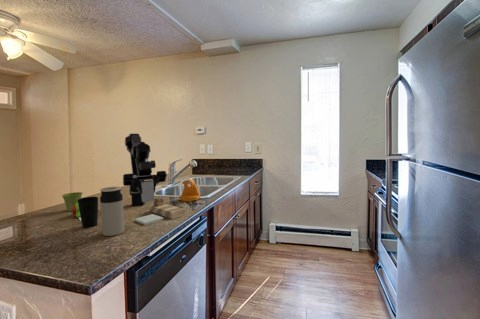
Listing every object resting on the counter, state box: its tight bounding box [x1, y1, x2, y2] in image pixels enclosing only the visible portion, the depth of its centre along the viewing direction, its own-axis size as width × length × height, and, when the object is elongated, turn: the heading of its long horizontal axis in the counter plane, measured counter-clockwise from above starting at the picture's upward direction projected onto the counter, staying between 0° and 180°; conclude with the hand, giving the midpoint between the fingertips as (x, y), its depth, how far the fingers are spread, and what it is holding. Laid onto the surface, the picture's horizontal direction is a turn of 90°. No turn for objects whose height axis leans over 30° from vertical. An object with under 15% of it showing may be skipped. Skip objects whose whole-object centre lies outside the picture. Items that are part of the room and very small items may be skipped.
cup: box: [78, 196, 99, 229], centre depth 111 cm, size 8×8×12 cm
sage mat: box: [134, 213, 164, 226], centre depth 117 cm, size 9×9×1 cm
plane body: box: [149, 197, 186, 220], centre depth 128 cm, size 20×7×6 cm, turn 49°
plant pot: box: [61, 191, 83, 212], centre depth 138 cm, size 9×9×9 cm
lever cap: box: [141, 179, 155, 203], centre depth 117 cm, size 4×5×9 cm
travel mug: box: [99, 186, 126, 237], centre depth 102 cm, size 8×8×18 cm
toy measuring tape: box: [71, 203, 82, 223], centre depth 124 cm, size 6×19×7 cm, turn 35°
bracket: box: [178, 178, 201, 202], centre depth 154 cm, size 11×7×12 cm, turn 82°
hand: (148, 192), depth 115 cm, fingers closed on lever cap, 5 cm apart
